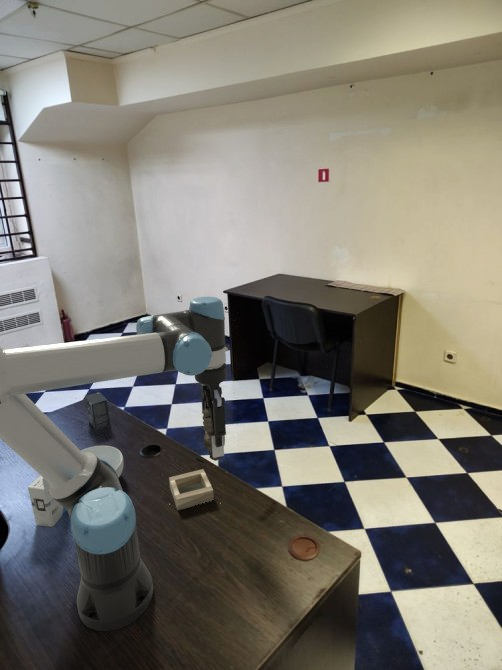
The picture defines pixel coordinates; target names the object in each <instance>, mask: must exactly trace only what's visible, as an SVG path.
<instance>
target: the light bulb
mask: <svg viewBox="0 0 502 670" xmlns="http://www.w3.org/2000/svg"><path fill="white" fill-rule="evenodd" d="M202 424H203V430H204V431H205V434H204V436H203V446H204V448H205V449H206V451H207V452H208V454H209V459H210V460H212V461H214V462H216V461H219V460H220V459H221V456H220V457H216V458H213V453H212V436H210V433H212V432H213V431H212V423H211V415H210V408H206V409H204V410H203V414H202ZM206 431H207V433H206ZM223 441H224V446H225V443H226V435H223Z"/></svg>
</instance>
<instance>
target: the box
mask: <svg viewBox="0 0 502 670" xmlns="http://www.w3.org/2000/svg"><path fill="white" fill-rule="evenodd" d="M84 399H85V400H84V401H85V407H86V411H87V412H86V413H87V418H88V419H87V420H88V422H89V423H90V425H91V426H92V427H93V429H94V430H96V431H97V430H100V429H104V428H106V427H109V426H111V419H110V413H109V406H108V400H107V398H106V397H105V396H104V395H103V394H102V393H101V392H100V391H97V392H95V393H90V394H87V395H85V396H84Z"/></svg>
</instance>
